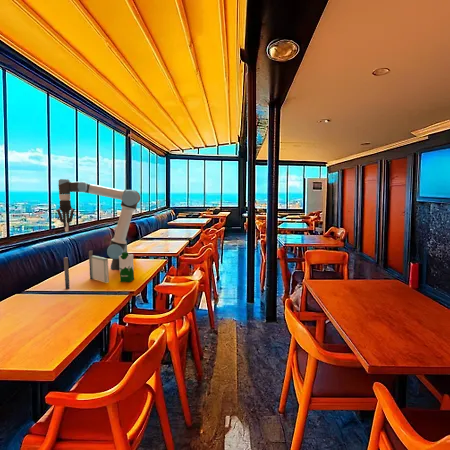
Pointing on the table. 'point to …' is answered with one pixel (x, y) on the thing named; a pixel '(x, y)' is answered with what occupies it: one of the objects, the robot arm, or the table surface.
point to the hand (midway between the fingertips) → (66, 231)
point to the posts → (68, 270)
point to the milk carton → (126, 267)
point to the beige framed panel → (99, 268)
